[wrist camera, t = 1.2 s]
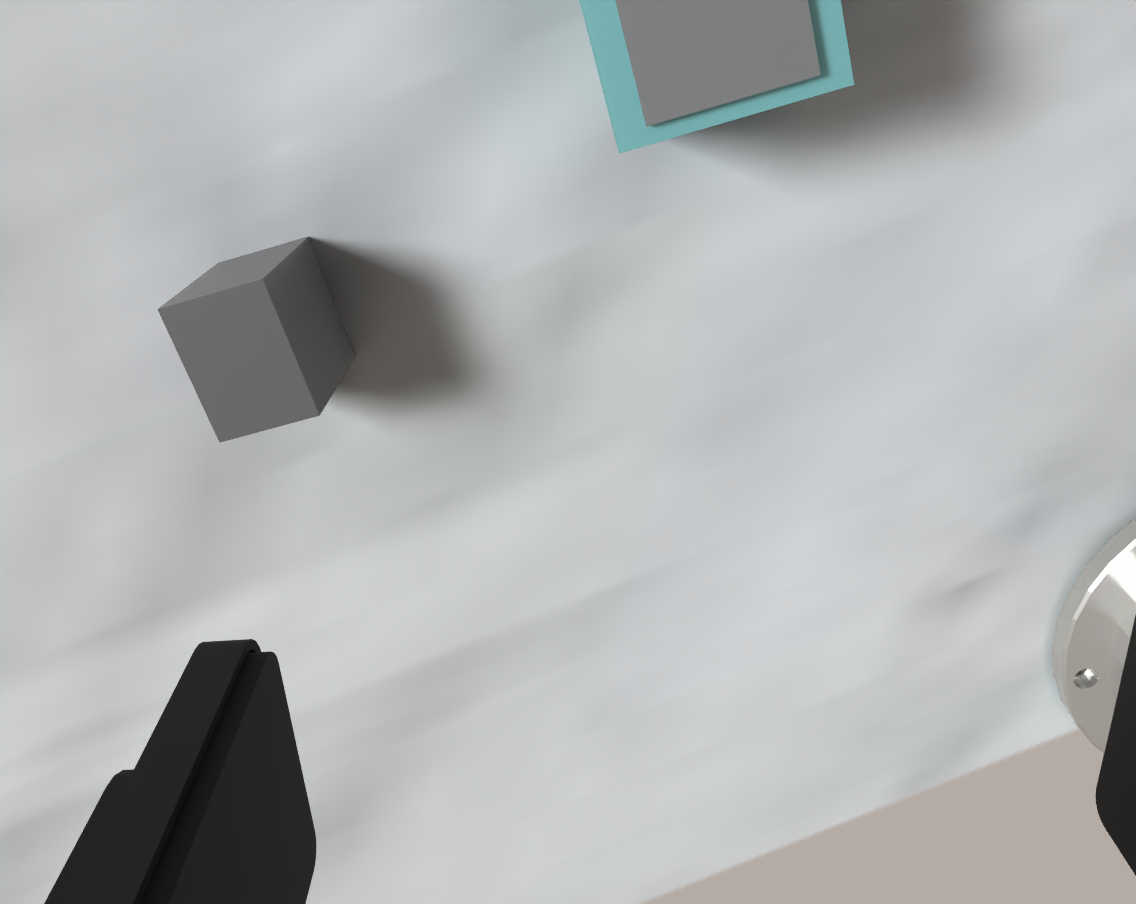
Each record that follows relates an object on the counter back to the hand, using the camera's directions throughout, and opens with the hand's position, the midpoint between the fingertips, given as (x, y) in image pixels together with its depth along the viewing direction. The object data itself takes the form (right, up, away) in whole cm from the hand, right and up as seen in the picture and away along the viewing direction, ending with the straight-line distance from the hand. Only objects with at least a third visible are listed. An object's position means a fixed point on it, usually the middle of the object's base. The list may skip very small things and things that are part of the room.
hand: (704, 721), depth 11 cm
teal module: (+2, +15, +17) cm, 23 cm away
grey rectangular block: (-10, +7, +21) cm, 25 cm away
